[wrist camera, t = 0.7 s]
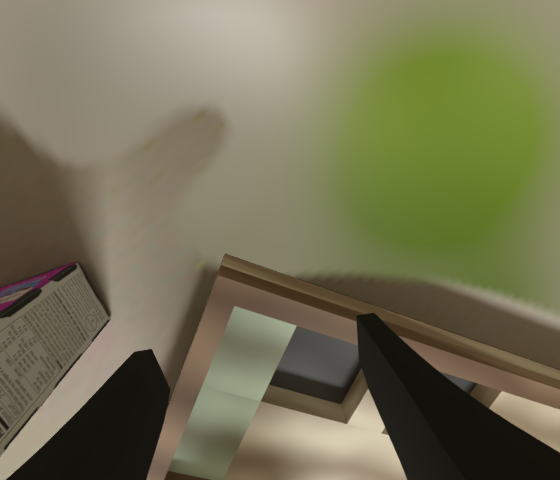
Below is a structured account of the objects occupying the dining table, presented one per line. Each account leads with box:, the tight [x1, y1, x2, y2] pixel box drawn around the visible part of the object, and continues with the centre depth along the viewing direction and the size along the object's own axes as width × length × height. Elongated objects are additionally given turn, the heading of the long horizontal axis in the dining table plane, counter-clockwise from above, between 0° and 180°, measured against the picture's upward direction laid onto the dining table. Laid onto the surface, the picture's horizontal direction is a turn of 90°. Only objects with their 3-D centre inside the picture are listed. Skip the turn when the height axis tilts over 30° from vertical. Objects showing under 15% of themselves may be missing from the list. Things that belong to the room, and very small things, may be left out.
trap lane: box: [146, 254, 560, 480], centre depth 23 cm, size 19×34×4 cm, turn 68°
